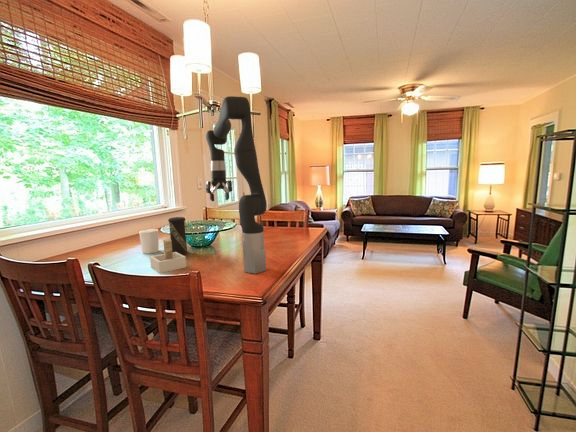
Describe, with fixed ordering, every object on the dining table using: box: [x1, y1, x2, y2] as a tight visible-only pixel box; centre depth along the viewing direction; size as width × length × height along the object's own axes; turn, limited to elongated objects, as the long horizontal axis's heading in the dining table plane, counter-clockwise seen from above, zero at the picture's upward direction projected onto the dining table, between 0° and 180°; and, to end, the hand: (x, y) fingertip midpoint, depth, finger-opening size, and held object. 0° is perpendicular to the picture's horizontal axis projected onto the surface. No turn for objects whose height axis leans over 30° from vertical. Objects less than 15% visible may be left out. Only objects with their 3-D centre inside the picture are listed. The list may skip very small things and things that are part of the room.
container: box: [167, 216, 188, 256], centre depth 161 cm, size 9×9×20 cm
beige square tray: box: [149, 252, 187, 274], centre depth 139 cm, size 12×12×5 cm
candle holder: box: [138, 228, 160, 254], centre depth 167 cm, size 10×10×12 cm
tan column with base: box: [163, 238, 173, 260], centre depth 138 cm, size 6×6×12 cm
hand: (220, 200), depth 160 cm, fingers open, 8 cm apart
